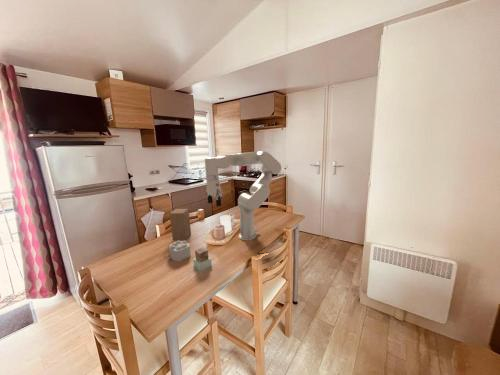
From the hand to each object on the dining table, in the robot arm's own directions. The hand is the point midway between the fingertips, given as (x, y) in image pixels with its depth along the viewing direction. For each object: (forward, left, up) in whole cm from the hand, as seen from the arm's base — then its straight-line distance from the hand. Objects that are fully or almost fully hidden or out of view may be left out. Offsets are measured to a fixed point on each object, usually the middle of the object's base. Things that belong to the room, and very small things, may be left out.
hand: (214, 204), depth 128 cm
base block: (+19, +14, -28) cm, 36 cm away
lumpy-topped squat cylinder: (+24, -6, -29) cm, 37 cm away
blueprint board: (+17, +13, -28) cm, 35 cm away
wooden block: (+11, -30, -28) cm, 43 cm away
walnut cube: (+19, +14, -24) cm, 33 cm away
